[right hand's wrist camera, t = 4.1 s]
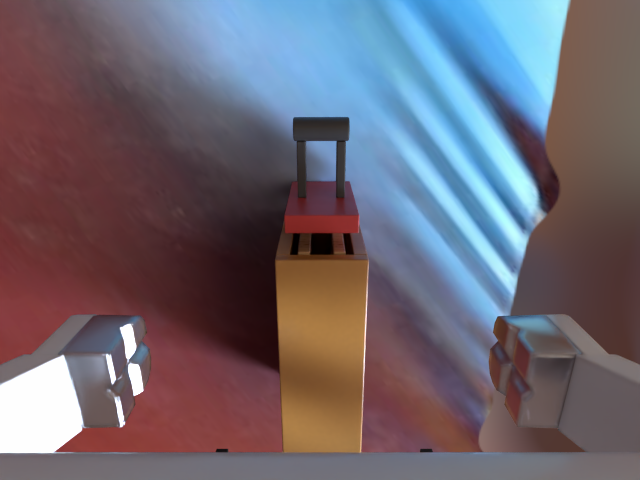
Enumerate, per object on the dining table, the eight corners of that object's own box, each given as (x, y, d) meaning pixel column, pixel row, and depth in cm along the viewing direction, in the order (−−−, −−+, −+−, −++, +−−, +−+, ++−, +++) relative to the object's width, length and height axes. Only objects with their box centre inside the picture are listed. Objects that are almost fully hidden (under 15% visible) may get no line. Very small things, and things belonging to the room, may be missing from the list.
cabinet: (286, 208, 38) (274, 259, 27) (355, 208, 38) (368, 259, 27) (291, 378, 44) (283, 471, 34) (350, 378, 44) (360, 470, 34)
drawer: (290, 111, 34) (281, 124, 25) (351, 111, 34) (362, 124, 25) (296, 351, 42) (290, 423, 33) (345, 351, 42) (352, 422, 33)
